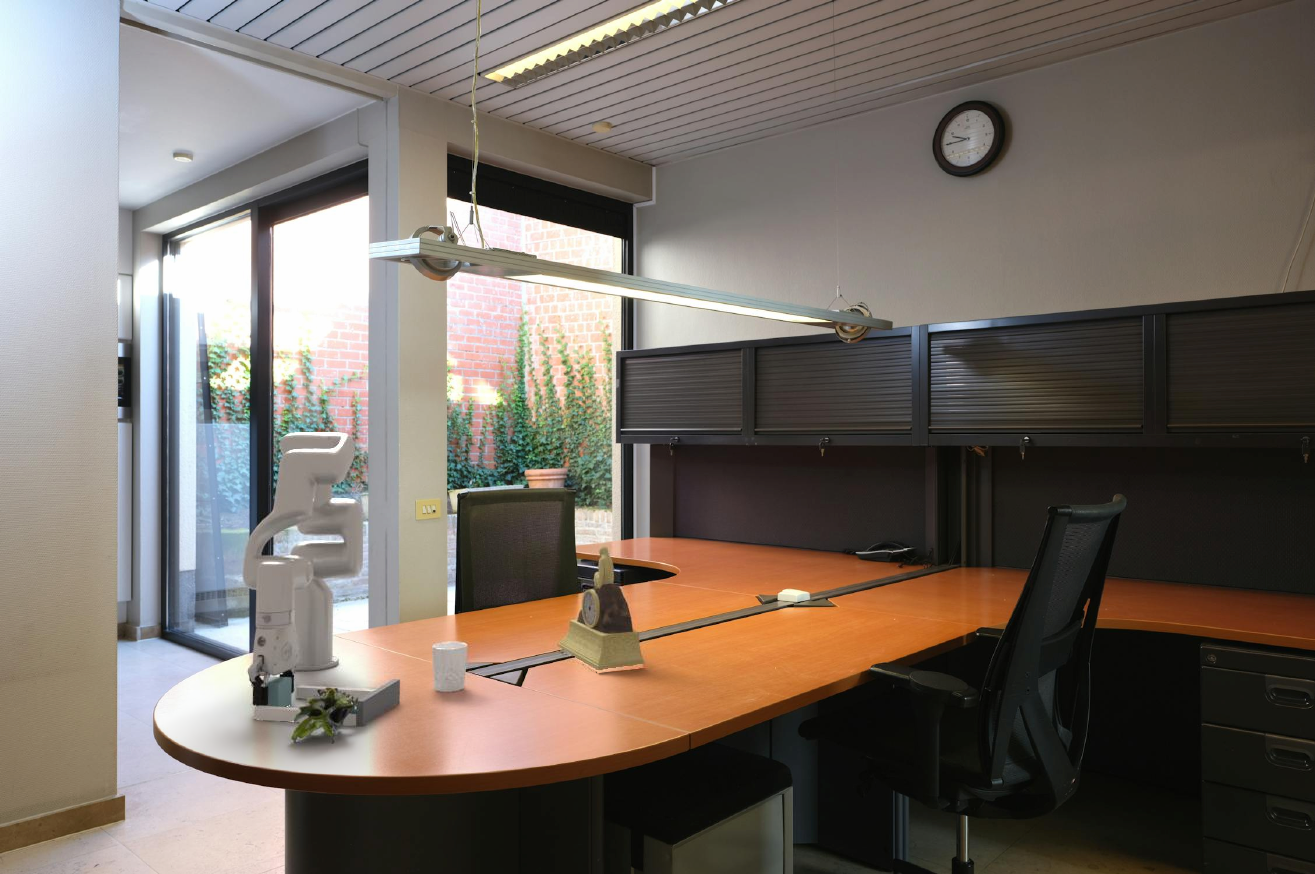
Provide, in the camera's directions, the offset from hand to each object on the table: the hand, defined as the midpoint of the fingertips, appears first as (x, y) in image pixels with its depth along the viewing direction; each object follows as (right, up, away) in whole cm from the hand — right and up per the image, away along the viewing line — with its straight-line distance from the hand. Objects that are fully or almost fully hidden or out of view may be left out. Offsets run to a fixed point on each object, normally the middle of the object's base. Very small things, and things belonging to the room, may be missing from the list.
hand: (273, 698), depth 188 cm
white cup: (+34, -3, +17) cm, 38 cm away
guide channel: (+13, -2, -2) cm, 13 cm away
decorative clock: (+66, -4, +46) cm, 81 cm away
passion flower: (+19, -2, -19) cm, 26 cm away
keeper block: (0, -2, 0) cm, 2 cm away
